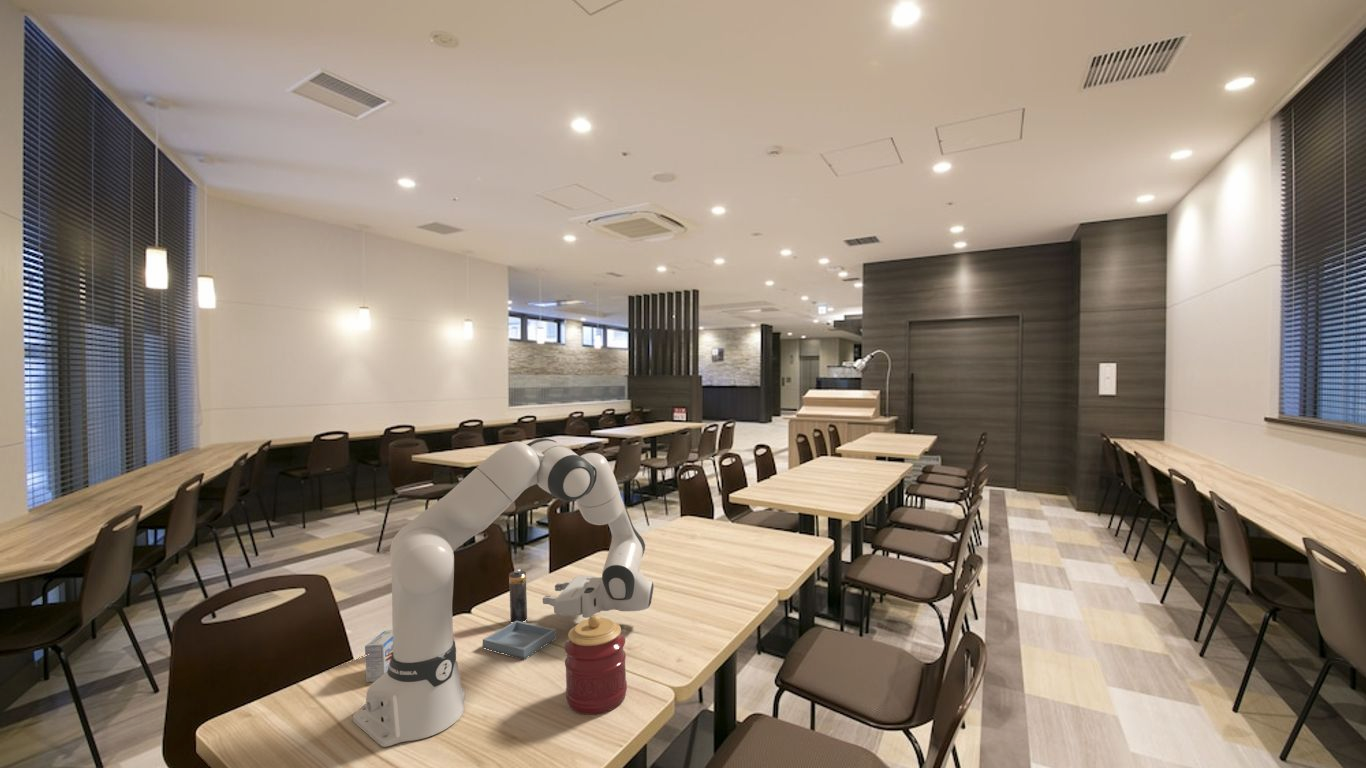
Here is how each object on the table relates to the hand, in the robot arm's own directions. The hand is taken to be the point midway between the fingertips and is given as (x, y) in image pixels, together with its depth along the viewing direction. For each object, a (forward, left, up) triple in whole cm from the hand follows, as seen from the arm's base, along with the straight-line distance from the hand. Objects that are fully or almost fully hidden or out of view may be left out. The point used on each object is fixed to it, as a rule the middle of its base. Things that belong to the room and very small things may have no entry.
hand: (549, 593), depth 152 cm
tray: (+1, -13, -8) cm, 16 cm away
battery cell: (-9, -3, -8) cm, 13 cm away
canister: (+34, -25, -9) cm, 43 cm away
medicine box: (-19, -37, -9) cm, 43 cm away
